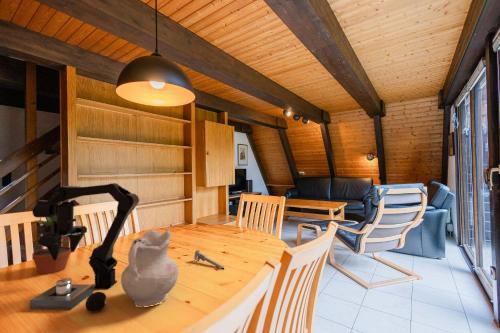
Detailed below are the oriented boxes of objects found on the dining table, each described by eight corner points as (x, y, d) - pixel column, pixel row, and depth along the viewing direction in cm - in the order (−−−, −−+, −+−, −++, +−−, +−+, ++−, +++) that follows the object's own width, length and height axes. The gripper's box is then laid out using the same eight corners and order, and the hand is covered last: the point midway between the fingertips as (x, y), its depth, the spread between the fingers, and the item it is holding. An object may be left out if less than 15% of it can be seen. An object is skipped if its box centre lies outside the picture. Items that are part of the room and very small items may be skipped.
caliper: (194, 261, 130) (194, 249, 130) (195, 260, 131) (195, 248, 131) (224, 270, 118) (224, 257, 118) (225, 269, 119) (225, 256, 119)
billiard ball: (89, 307, 85) (90, 289, 86) (108, 305, 87) (109, 287, 87) (82, 317, 80) (82, 298, 80) (102, 314, 81) (103, 296, 81)
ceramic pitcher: (166, 321, 80) (174, 243, 80) (103, 318, 78) (111, 239, 79) (180, 289, 101) (185, 228, 102) (131, 286, 100) (137, 225, 100)
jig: (93, 292, 95) (93, 283, 96) (70, 310, 83) (70, 300, 84) (58, 291, 96) (58, 283, 96) (29, 309, 84) (29, 299, 84)
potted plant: (28, 279, 106) (29, 209, 106) (35, 267, 119) (36, 205, 119) (70, 272, 114) (71, 207, 114) (73, 261, 127) (74, 203, 127)
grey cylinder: (74, 297, 92) (74, 278, 92) (64, 303, 87) (65, 283, 88) (62, 297, 92) (62, 278, 92) (52, 303, 88) (52, 283, 88)
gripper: (63, 212, 110) (62, 248, 110) (23, 221, 91) (23, 264, 91) (88, 213, 110) (87, 248, 109) (53, 222, 91) (52, 264, 91)
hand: (64, 255), depth 100 cm, fingers open, 9 cm apart
